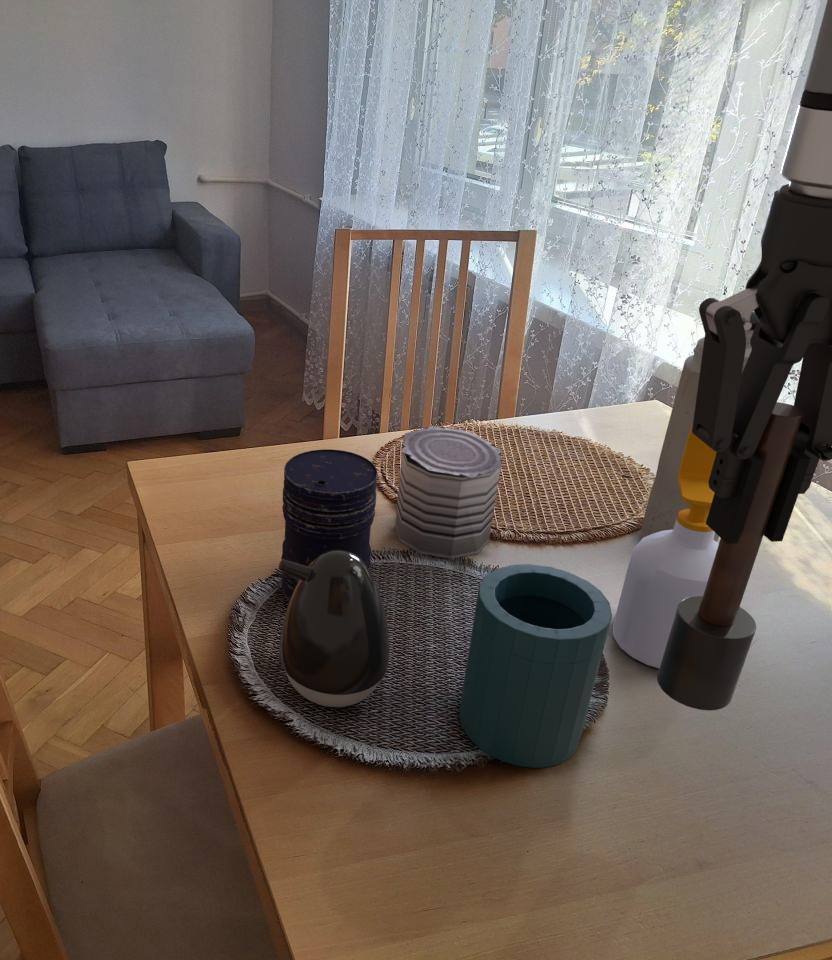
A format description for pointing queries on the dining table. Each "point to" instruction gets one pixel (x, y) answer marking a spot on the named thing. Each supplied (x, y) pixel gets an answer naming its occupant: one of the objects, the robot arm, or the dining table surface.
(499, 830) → the dining table surface
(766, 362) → the robot arm
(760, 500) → the round mallet
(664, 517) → the thermos bottle
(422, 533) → the can
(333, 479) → the storage jar
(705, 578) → the soap bottle
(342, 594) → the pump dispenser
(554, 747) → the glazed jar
